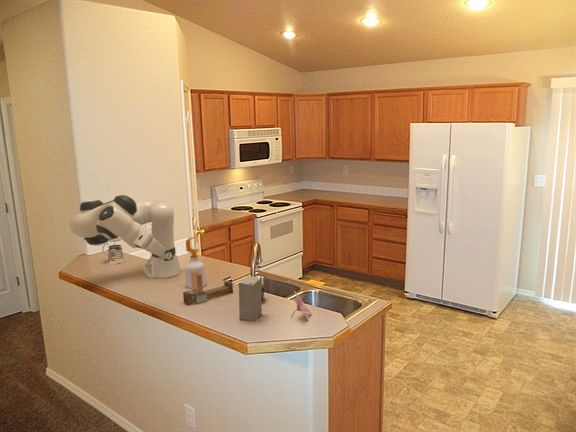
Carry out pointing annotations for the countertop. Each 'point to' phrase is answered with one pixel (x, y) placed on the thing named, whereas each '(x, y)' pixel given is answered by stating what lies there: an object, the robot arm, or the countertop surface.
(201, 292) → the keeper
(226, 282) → the rail
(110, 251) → the french press
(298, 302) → the lily
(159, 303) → the countertop surface
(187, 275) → the soap bottle
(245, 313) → the skincare box
